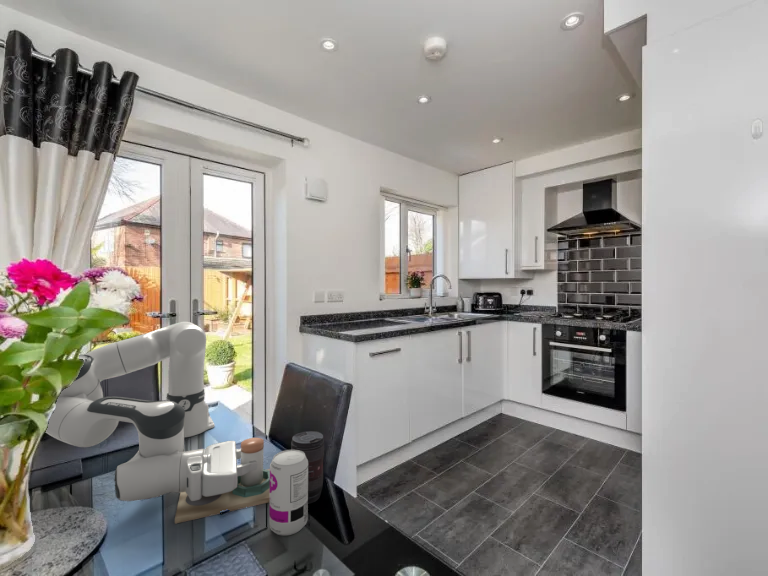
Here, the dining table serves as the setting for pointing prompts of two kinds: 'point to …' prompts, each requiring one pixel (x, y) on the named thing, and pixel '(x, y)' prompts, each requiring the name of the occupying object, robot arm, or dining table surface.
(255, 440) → the lidded canister
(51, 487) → the dining table surface
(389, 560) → the dining table surface
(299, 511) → the supplement can
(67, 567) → the dining table surface
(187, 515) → the seat board
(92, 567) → the dining table surface
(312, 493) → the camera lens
